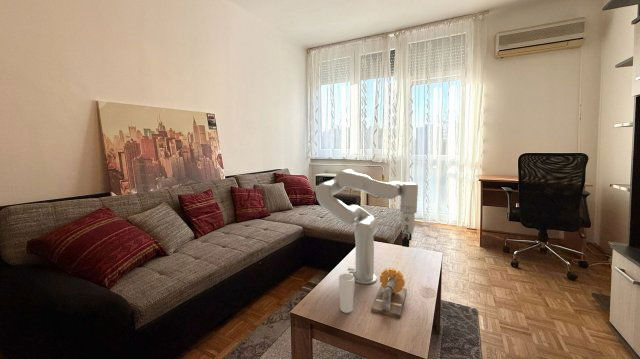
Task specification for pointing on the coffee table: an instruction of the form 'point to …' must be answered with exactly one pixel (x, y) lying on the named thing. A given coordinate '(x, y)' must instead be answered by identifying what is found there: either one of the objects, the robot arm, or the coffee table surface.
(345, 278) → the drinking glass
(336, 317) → the coffee table surface
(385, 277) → the collar
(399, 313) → the pipe stand
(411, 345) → the coffee table surface
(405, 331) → the coffee table surface
